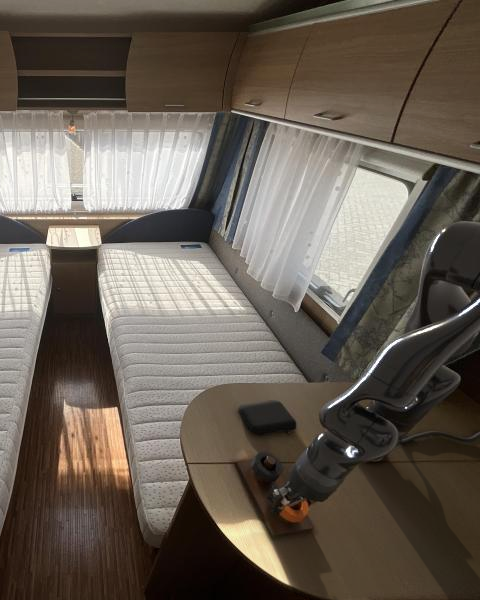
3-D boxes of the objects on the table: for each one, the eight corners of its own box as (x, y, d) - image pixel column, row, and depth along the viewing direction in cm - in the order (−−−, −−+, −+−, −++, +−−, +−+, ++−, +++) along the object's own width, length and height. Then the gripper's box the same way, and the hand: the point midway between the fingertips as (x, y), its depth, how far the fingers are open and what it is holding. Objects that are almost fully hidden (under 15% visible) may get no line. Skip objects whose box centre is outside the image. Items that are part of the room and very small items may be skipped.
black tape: (268, 456, 88) (272, 450, 86) (283, 480, 83) (288, 474, 81) (246, 459, 87) (250, 453, 85) (260, 483, 82) (264, 477, 80)
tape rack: (268, 459, 91) (279, 442, 86) (312, 530, 77) (327, 515, 72) (234, 464, 90) (243, 447, 85) (271, 537, 76) (285, 522, 71)
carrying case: (254, 441, 95) (300, 433, 97) (257, 435, 93) (304, 427, 95) (233, 410, 104) (276, 403, 106) (236, 403, 102) (280, 396, 104)
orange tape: (291, 491, 80) (296, 485, 79) (309, 520, 75) (315, 514, 74) (268, 495, 80) (272, 489, 78) (284, 524, 75) (289, 518, 73)
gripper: (296, 497, 64) (268, 531, 74) (364, 486, 66) (326, 521, 76) (273, 459, 70) (249, 496, 80) (335, 450, 72) (304, 487, 82)
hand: (287, 508), depth 78 cm, fingers closed on orange tape, 6 cm apart
